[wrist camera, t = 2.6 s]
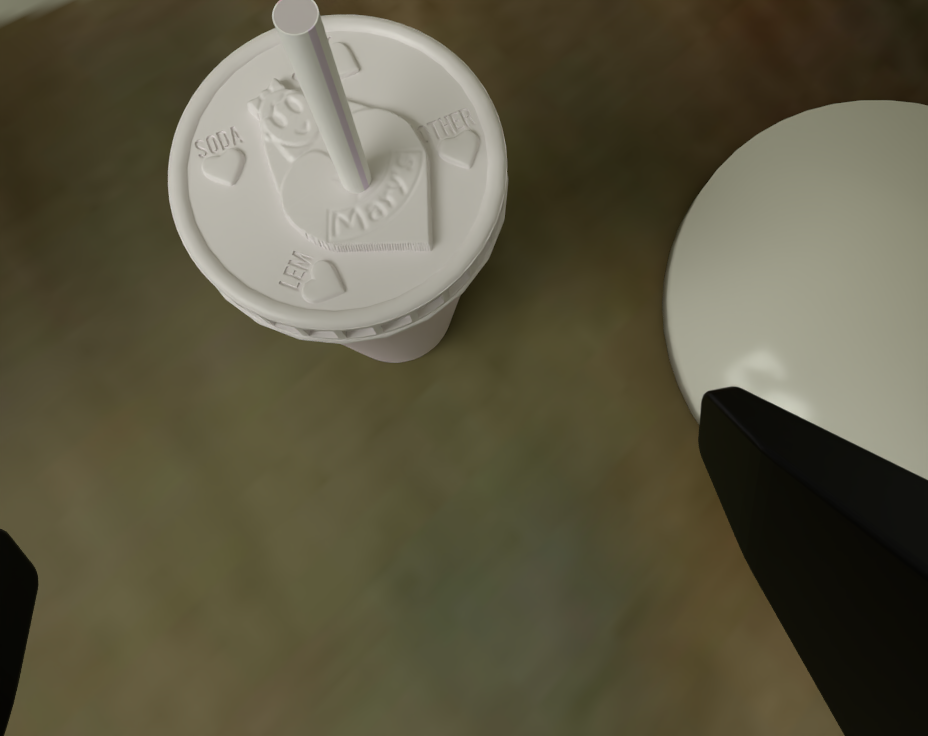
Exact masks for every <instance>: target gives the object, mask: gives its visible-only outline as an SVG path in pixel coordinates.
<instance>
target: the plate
mask: <svg viewBox="0 0 928 736" xmlns="http://www.w3.org/2000/svg"><path fill="white" fill-rule="evenodd" d="M662 311H663V328H664V335H665V341H666V346H667V351H668V356H669V360H670V363H671V366H672V369H673V372H674V375H675V378H676V381H677V384H678V387H679V389H680V391H681V393H682V395H683V397H684V399H685V401H686V403H687V406H688V408H689V410H690V412H691V414H692V415H693V417H694V418H695V420H696V421H697V423H698V424H700V412H701V401H702V397H703V395H704V394H705V393H706V392H707V391H709V390H715V389H720V388H725V387H730V386H736V387H740V388H742V389H744V390H746V391H748V392H750V393H752V394H754V395H756V396H758V397H760V398H762V399H764V400H767V401H769V402H771V403H773V404H775V405H777V406H779V407H781V408H783V409H785V410H787V411H789V412H791V413H793V414H795V415H797V416H799V417H801V418H803V419H805V420H807V421H809V422H811V423H813V424H815V425H817V426H819V427H821V428H823V429H825V430H827V431H829V432H831V433H834V434H836V435H838V436H840V437H842V438H844V439H846V440H848V441H850V442H852V443H854V444H856V445H858V446H860V447H862V448H864V449H866V450H868V451H870V452H872V453H874V454H876V455H878V456H880V457H882V458H884V459H886V460H888V461H890V462H892V463H894V464H896V465H898V466H901V467H903V468H905V469H907V470H909V471H911V472H913V473H915V474H917V475H919V476H921V477H923V478H925V479H927V480H928V106H927V105H923V104H918V103H910V102H900V101H891V100H860V101H853V102H845V103H837V104H831V105H827V106H823V107H820V108H816V109H812V110H808V111H805V112H802V113H800V114H797V115H795V116H792V117H790V118H787V119H785V120H782V121H780V122H778V123H777V124H775V125H773V126H771V127H769V128H768V129H766V130H764V131H762V132H761V133H759V134H757V135H756V136H755V137H753V138H752V139H751V140H749V141H748V142H747V143H745V144H744V145H743V146H741V147H740V148H739V149H737V150H736V151H735V152H734V153H733V154H732V155H731V156H730V157H729V158H728V159H727V160H726V161H725V162H724V163H723V164H722V165H721V166H720V167H719V168H718V169H717V170H716V172H715V173H714V174H713V176H712V177H711V178H710V180H709V181H708V182H707V184H706V185H705V186H704V188H703V189H702V190H701V192H700V193H699V194H698V196H697V197H696V198H695V200H694V201H693V202H692V204H691V206H690V207H689V209H688V211H687V213H686V215H685V216H684V218H683V220H682V222H681V224H680V226H679V228H678V231H677V233H676V236H675V239H674V241H673V244H672V247H671V249H670V253H669V257H668V262H667V266H666V271H665V275H664V285H663V298H662Z"/></svg>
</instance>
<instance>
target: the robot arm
mask: <svg viewBox="0 0 928 736" xmlns="http://www.w3.org/2000/svg"><path fill="white" fill-rule="evenodd" d="M698 442H699V449H700V453H701V457H702V459H703V462H704V464H705V466H706V469H707V471H708V473H709V476H710V478H711V481H712V483H713V485H714V488H715V490H716V492H717V495H718V497H719V499H720V502H721V504H722V507H723V509H724V511H725V514H726V516H727V518H728V521H729V523H730V525H731V528H732V530H733V533H734V535H735V537H736V540H737V542H738V544H739V546H740V549H741V551H742V553H743V555H744V557H745V559H746V561H747V563H748V565H749V567H750V569H751V571H752V573H753V575H754V576H755V578H756V580H757V582H758V583H759V585H760V587H761V589H762V590H763V592H764V594H765V596H766V598H767V599H768V601H769V603H770V605H771V606H772V608H773V610H774V612H775V613H776V615H777V617H778V619H779V620H780V622H781V624H782V626H783V628H784V629H785V631H786V633H787V635H788V636H789V638H790V640H791V642H792V643H793V645H794V647H795V649H796V651H797V652H798V654H799V656H800V658H801V659H802V661H803V663H804V665H805V666H806V668H807V670H808V672H809V673H810V675H811V677H812V679H813V681H814V682H815V684H816V686H817V688H818V689H819V691H820V693H821V695H822V696H823V698H824V700H825V702H826V704H827V705H828V707H829V709H830V711H831V712H832V714H833V716H834V718H835V719H836V721H837V723H838V725H839V726H840V728H841V730H842V732H843V734H844V735H845V736H928V480H927V479H925V478H923V477H921V476H919V475H917V474H915V473H913V472H911V471H909V470H907V469H905V468H903V467H901V466H898V465H896V464H894V463H892V462H890V461H888V460H886V459H884V458H882V457H880V456H878V455H876V454H874V453H872V452H870V451H868V450H866V449H864V448H862V447H860V446H858V445H856V444H854V443H852V442H850V441H848V440H846V439H844V438H842V437H840V436H838V435H836V434H834V433H831V432H829V431H827V430H825V429H823V428H821V427H819V426H817V425H815V424H813V423H811V422H809V421H807V420H805V419H803V418H801V417H799V416H797V415H795V414H793V413H791V412H789V411H787V410H785V409H783V408H781V407H779V406H777V405H775V404H773V403H771V402H769V401H767V400H764V399H762V398H760V397H758V396H756V395H754V394H752V393H750V392H748V391H746V390H744V389H742V388H740V387H736V386H730V387H725V388H720V389H715V390H709V391H707V392H706V393H705V394H704V395H703V397H702V401H701V412H700V424H699V437H698ZM37 590H38V575H37V571H36V569H35V567H34V566H33V564H32V563H31V562H30V560H29V559H28V558H27V557H26V555H25V554H24V553H23V552H22V550H21V549H20V548H19V546H18V545H17V544H16V543H15V541H14V540H13V539H12V538H11V536H10V535H9V534H8V533H7V532H6V531H4V530H2V529H0V736H4V734H5V731H6V728H7V725H8V721H9V718H10V714H11V711H12V707H13V704H14V700H15V695H16V691H17V687H18V683H19V678H20V673H21V668H22V663H23V658H24V654H25V649H26V644H27V639H28V634H29V629H30V624H31V620H32V615H33V610H34V605H35V600H36V595H37Z"/></svg>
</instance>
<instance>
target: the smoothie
mask: <svg viewBox="0 0 928 736" xmlns="http://www.w3.org/2000/svg"><path fill="white" fill-rule="evenodd" d="M272 19H273V23H274V25H275V27H276V28H274V29H272V30H270V31H268V32H265V33H263V34H261V35H259V36H258V37H256V38H254V39H252V40H250V41H249V42H247V43H246V44H244V45H243V46H241V47H240V48H238V49H237V50H235V51H234V52H233V53H231V54H230V55H229V56H228V57H227V58H225V59H224V60H223V61H222V62H221V63H220V64H219V65H218V66H217V67H216V68H215V69H214V70H213V71H212V72H211V73H210V74H209V75H208V76H207V77H206V79H205V80H204V81H203V82H202V83H201V85H200V86H199V87H198V89H197V90H196V92H195V93H194V95H193V96H192V98H191V99H190V101H189V103H188V105H187V107H186V108H185V110H184V112H183V114H182V117H181V119H180V121H179V123H178V126H177V129H176V132H175V135H174V138H173V142H172V147H171V151H170V157H169V166H168V191H169V201H170V206H171V211H172V216H173V219H174V222H175V225H176V228H177V231H178V233H179V236H180V238H181V240H182V242H183V245H184V246H185V248H186V250H187V252H188V253H189V255H190V257H191V258H192V260H193V261H194V263H195V264H196V265H197V267H198V268H199V269H200V271H201V272H202V273H203V274H204V275H205V276H206V277H207V278H208V280H209V281H210V282H211V283H212V284H213V285H214V286H215V287H216V288H217V289H218V290H219V292H220V293H221V294H222V295H223V297H224V298H225V299H226V300H227V301H229V302H230V303H231V304H233V305H234V306H235V307H237V308H238V309H239V310H241V311H242V312H243V313H245V314H246V315H248V316H249V317H250V318H252V319H253V320H254V321H256V322H257V323H258V324H260V325H263V326H266V327H268V328H271V329H273V330H276V331H279V332H281V333H284V334H286V335H289V336H292V337H294V338H297V339H300V340H308V341H318V342H328V343H338V344H342V345H345V346H347V347H349V348H351V349H353V350H356V351H358V352H360V353H362V354H364V355H367V356H369V357H371V358H373V359H376V360H379V361H383V362H391V363H398V362H406V361H410V360H414V359H416V358H419V357H421V356H423V355H424V354H426V353H428V352H429V351H430V350H432V349H433V348H434V347H435V346H436V345H437V344H438V343H439V342H440V341H441V339H442V338H443V337H444V335H445V333H446V331H447V329H448V327H449V324H450V322H451V319H452V316H453V314H454V311H455V308H456V306H457V303H458V301H459V298H460V295H461V294H462V293H463V292H464V291H465V290H466V289H467V287H468V286H469V285H470V283H471V282H472V281H473V279H474V278H475V277H476V275H477V274H478V273H479V271H480V270H481V269H482V267H483V266H484V265H485V263H486V262H487V261H488V259H489V258H490V255H491V253H492V250H493V248H494V245H495V242H496V240H497V237H498V235H499V232H500V230H501V227H502V225H503V222H504V219H505V209H506V200H507V190H508V175H507V153H506V143H505V138H504V133H503V129H502V126H501V123H500V119H499V116H498V114H497V111H496V109H495V107H494V104H493V102H492V100H491V98H490V97H489V95H488V93H487V91H486V90H485V88H484V86H483V85H482V84H481V82H480V81H479V79H478V78H477V77H476V75H475V74H474V73H473V72H472V71H471V69H470V68H469V67H468V66H467V65H466V64H465V63H464V62H463V61H462V60H461V59H460V58H459V57H458V56H457V55H456V54H454V53H453V52H452V51H450V50H449V49H448V48H447V47H445V46H444V45H443V44H441V43H439V42H438V41H436V40H435V39H433V38H431V37H430V36H428V35H426V34H424V33H422V32H420V31H418V30H416V29H413V28H411V27H408V26H406V25H403V24H400V23H397V22H393V21H390V20H387V19H381V18H376V17H371V16H362V15H327V16H320V13H319V10H318V7H317V5H316V3H315V2H314V1H313V0H279V2H278V3H277V4H276V5H275V7H274V9H273V13H272Z"/></svg>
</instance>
